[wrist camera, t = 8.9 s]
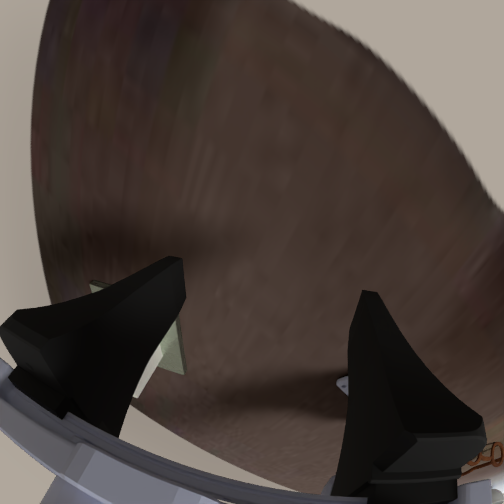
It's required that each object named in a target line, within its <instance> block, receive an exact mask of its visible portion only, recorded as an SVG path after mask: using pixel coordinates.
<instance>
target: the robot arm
mask: <svg viewBox="0 0 504 504" xmlns="http://www.w3.org/2000/svg"><path fill="white" fill-rule="evenodd" d="M185 299H186V291H185V281H184V271H183V260H182V258H178V257H173V256H168V257H165V258H163V259H161V260H159V261H157V262H155V263H153V264H151V265H150V266H148V267H146V268H144V269H142V270H140V271H138V272H136V273H135V274H133V275H131V276H129V277H127V278H125V279H123V280H121V281H119V282H116V283H114V284H112V285H110V286H108V287H106V288H104V289H101V290H99V291H96V292H94V293H91V294H88V295H85V296H82V297H79V298H76V299H73V300H69V301H66V302H62V303H58V304H54V305H49V306H44V307H37V308H29V309H20V310H16V311H15V312H14V313H13V314H12V315H11V316H10V317H9V318H8V319H7V320H6V321H5V322H4V323H3V324H2V325H1V326H0V337H1V339H2V341H3V343H4V344H5V346H6V348H7V350H8V351H9V353H10V354H11V356H12V358H13V359H14V360H15V362H16V364H17V367H16V368H15V369H13V368H12V367H11V366H10V365H9V364H8V363H6V362H5V361H4V360H3V359H1V358H0V430H1V431H2V432H3V433H4V434H5V435H7V436H8V437H9V438H10V439H11V440H12V441H13V442H14V443H15V444H17V445H18V446H19V447H20V448H21V449H23V450H24V451H25V452H26V453H28V454H29V455H30V456H31V457H32V458H34V459H35V460H36V461H38V462H39V463H40V464H41V465H43V466H44V467H46V468H47V469H48V470H50V471H51V472H52V473H54V474H55V475H56V477H55V479H54V481H53V482H52V484H51V486H50V488H49V489H48V491H47V493H46V494H45V496H44V498H43V499H42V501H41V503H40V504H226V503H223V502H220V501H219V500H223V501H227V502H231V503H235V504H492V490H491V480H490V479H486V480H481V481H476V482H471V483H466V484H463V485H460V486H457V479H459V478H460V477H461V475H462V472H461V467H462V466H463V465H465V464H466V463H468V462H469V461H470V460H472V459H473V458H474V457H476V456H477V455H478V454H479V453H480V452H481V451H482V450H483V449H484V447H485V446H486V444H487V438H486V432H485V427H484V422H483V418H482V416H480V415H479V414H478V413H476V412H475V411H474V410H472V409H471V408H470V407H468V406H467V405H466V404H464V403H463V402H462V401H461V400H459V399H458V398H457V397H456V396H455V395H454V394H453V393H451V392H450V391H449V390H448V389H447V388H446V387H445V386H444V385H443V384H442V383H441V382H440V381H439V380H438V379H437V378H436V377H435V376H434V375H433V374H432V372H431V371H430V370H429V369H428V368H427V367H426V366H425V364H424V363H423V362H422V361H421V359H420V358H419V357H418V356H417V354H416V353H415V352H414V350H413V349H412V348H411V346H410V345H409V343H408V342H407V340H406V339H405V337H404V336H403V334H402V333H401V331H400V330H399V328H398V326H397V325H396V323H395V322H394V320H393V318H392V316H391V315H390V313H389V311H388V310H387V308H386V306H385V304H384V303H383V301H382V299H381V297H380V296H379V294H378V292H372V291H366V290H362V293H361V296H360V299H359V302H358V305H357V309H356V312H355V315H354V318H353V321H352V323H351V326H350V331H349V341H348V376H346V377H343V378H340V379H338V380H337V383H336V384H337V386H338V387H339V388H340V389H341V390H342V391H343V392H344V393H345V394H346V395H347V396H348V410H347V418H346V425H345V432H344V438H343V444H342V449H341V454H340V459H339V463H338V468H337V472H336V475H334V476H332V477H331V478H330V480H329V481H328V483H327V484H326V485H325V486H324V488H323V490H322V493H321V495H317V494H308V493H300V492H292V491H287V490H280V489H275V488H269V487H263V486H259V485H254V484H250V483H245V482H241V481H237V480H233V479H229V478H225V477H221V476H217V475H214V474H211V473H207V472H204V471H201V470H197V469H194V468H191V467H188V466H185V465H182V464H179V463H177V462H174V461H171V460H168V459H166V458H163V457H161V456H158V455H155V454H153V453H150V452H148V451H145V450H143V449H141V448H139V447H136V446H134V445H132V444H130V443H127V442H125V441H123V440H121V439H119V435H120V431H121V428H122V425H123V422H124V419H125V416H126V413H127V410H128V408H129V405H130V402H131V400H132V397H133V395H134V392H135V390H136V388H137V385H138V383H139V381H140V379H141V377H142V374H143V372H144V370H145V368H146V366H147V364H148V362H149V360H150V359H151V357H152V355H153V354H154V352H155V351H156V349H157V347H158V346H159V344H160V343H161V341H162V340H163V338H164V337H165V335H166V334H167V332H168V331H169V329H170V327H171V326H172V324H173V323H174V321H175V320H176V318H177V316H178V314H179V312H180V310H181V308H182V306H183V304H184V301H185ZM217 499H219V500H217Z"/></svg>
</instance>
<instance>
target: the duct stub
mask: <svg viewBox="0 0 504 504" xmlns="http://www.w3.org/2000/svg"><path fill="white" fill-rule="evenodd" d="M108 286H110V285H109V284H106V283H102V282H99V281H96V280H93V281H92V282H91V283H90V288H91V291H92V293H94V292H96V291H99V290H101V289H104V288H106V287H108ZM160 346H161V351H162V355H163V357H162V358H161V360H160V362H159V363H158V365H157V366H158V367H161V368H164V369H167V370H170V371H173V372H176V373H179V374H182V375H185V373H186V371H187V367H186V361H185V355H184V348H183V342H182V335H181V328H180V320H179V314H178V316H177V318H176V320H175V321H174V323H173V324H172V326H171V327H170V329H169V331H168V332H167V334H166V335H165V337H164V338H163V340H162V341H161V343H160Z"/></svg>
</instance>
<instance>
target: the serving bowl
mask: <svg viewBox="0 0 504 504" xmlns="http://www.w3.org/2000/svg"><path fill="white" fill-rule="evenodd" d="M491 490H492V504H502V503H503V502H504V496H503V494H502V492H501V491H499V490H497V489H491Z"/></svg>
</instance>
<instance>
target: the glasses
mask: <svg viewBox="0 0 504 504" xmlns="http://www.w3.org/2000/svg"><path fill="white" fill-rule="evenodd" d="M496 445H498V446H499V447H500V449H501V458H498V459H496V460H494V448H495V446H496ZM503 459H504V448H503V445H502V444H501V443H500V442H495V443H494V444H493V445H492V448H491V456H490V457H484V456H482V451H481V452H480V453H479V454H478V458H477V460H476V461H475V462H472V461H471V460H470V461H469V462H468V463H467V464H468V465H470V466H474V465H477V464H478V463H479V462H480V460H483V461H489V460H491V461H490V462H487V463H484V464H481V465H478V466H475V467H473V468H471V469H470V470H468V471H466V472H464V473H462V475H461V476H464V475H466V474H468V473H470V472H472V471H473V470H476V469H479V468H482V467H485V466H488V465H491V464H492V465H493V466H494V467H498V466H500V465H501V464H502V462H503ZM499 461H500V462H499ZM496 462H499V463H498V464H497V463H496Z"/></svg>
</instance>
